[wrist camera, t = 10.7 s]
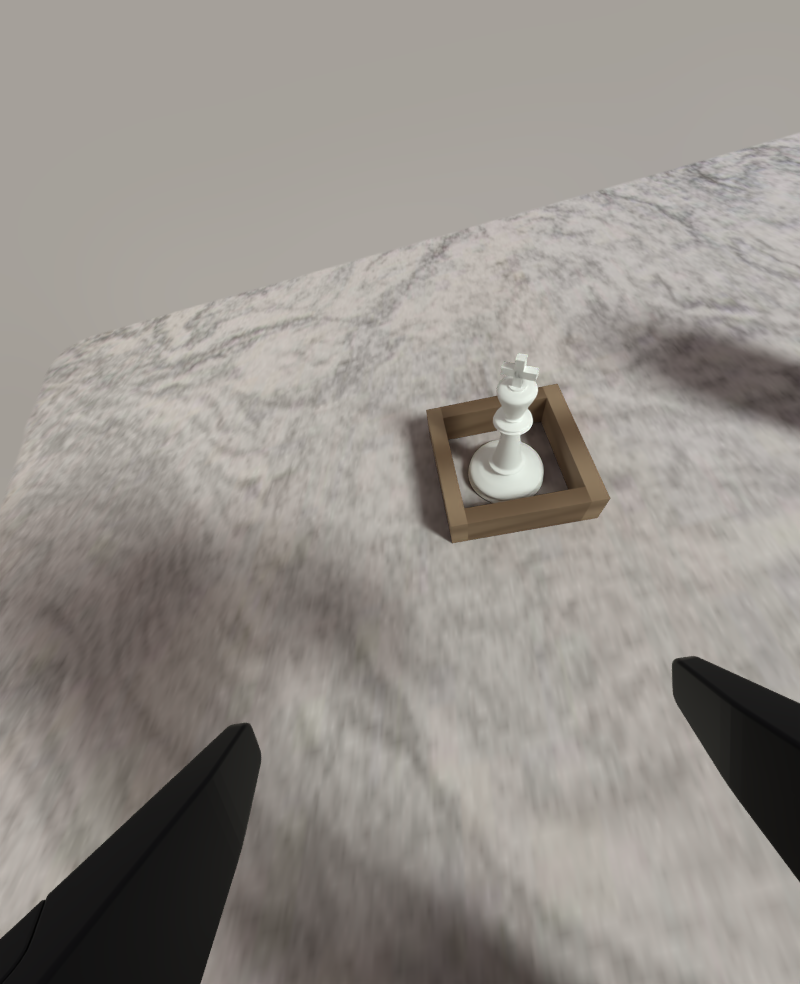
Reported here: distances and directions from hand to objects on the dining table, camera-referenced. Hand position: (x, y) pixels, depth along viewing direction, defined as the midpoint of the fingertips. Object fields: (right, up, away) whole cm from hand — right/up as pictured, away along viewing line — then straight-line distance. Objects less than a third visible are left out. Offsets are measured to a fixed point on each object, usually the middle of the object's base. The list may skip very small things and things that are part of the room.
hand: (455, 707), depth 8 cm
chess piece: (+6, +6, +18) cm, 20 cm away
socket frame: (+6, +6, +18) cm, 20 cm away
